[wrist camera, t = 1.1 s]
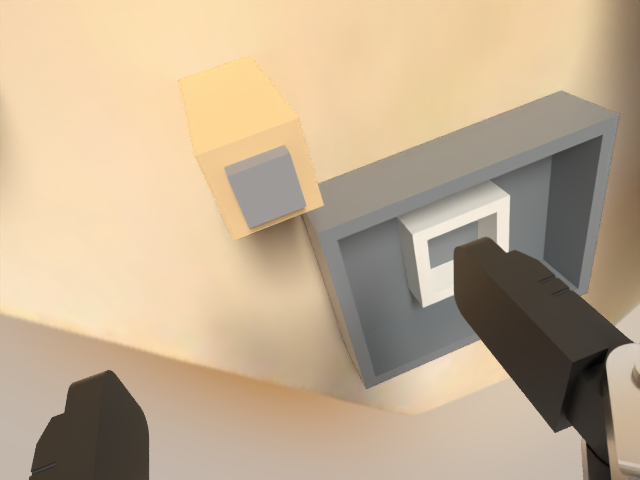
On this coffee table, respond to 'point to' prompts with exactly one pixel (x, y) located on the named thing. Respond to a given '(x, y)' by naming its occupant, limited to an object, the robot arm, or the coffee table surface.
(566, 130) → the box
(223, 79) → the connector
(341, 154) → the coffee table surface
